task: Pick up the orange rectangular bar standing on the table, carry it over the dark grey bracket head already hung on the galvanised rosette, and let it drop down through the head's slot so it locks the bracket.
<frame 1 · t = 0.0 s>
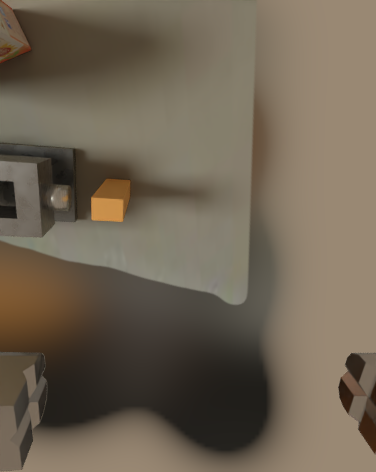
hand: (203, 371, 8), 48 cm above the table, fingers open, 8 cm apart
orange rectangular bar: (118, 188, 54), on the table
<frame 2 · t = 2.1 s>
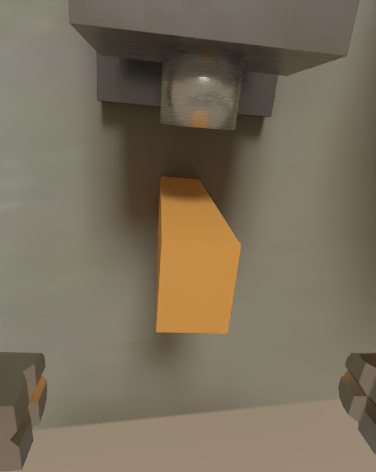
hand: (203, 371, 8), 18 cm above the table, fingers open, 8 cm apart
orange rectangular bar: (177, 202, 26), on the table
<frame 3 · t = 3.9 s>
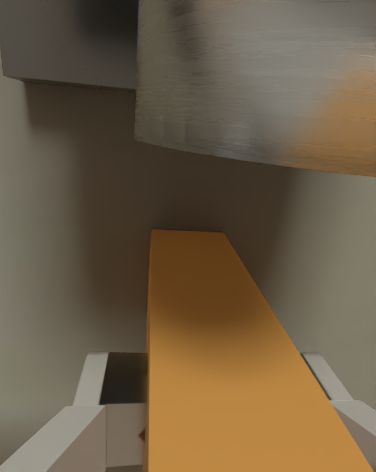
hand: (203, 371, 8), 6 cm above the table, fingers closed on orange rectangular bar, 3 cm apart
orange rectangular bar: (183, 274, 14), on the table, touching gripper
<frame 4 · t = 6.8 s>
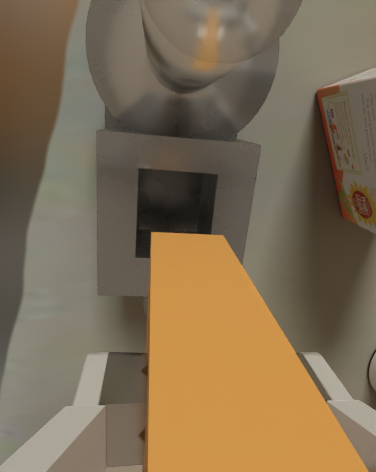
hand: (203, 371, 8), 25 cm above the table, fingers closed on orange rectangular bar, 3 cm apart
cracker box: (354, 147, 33), on the table
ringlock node: (170, 141, 31), on the table
orange rectangular bar: (183, 277, 14), point 20 cm above the table, touching gripper
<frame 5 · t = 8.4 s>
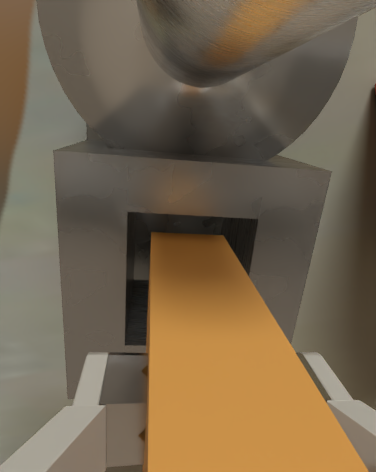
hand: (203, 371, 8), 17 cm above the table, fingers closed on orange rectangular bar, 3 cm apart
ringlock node: (177, 154, 23), on the table
orange rectangular bar: (183, 277, 14), point 11 cm above the table, touching gripper
when the fingers open (14 cm above the table, at t = 9.7 s): orange rectangular bar drops 6 cm, resting on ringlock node.
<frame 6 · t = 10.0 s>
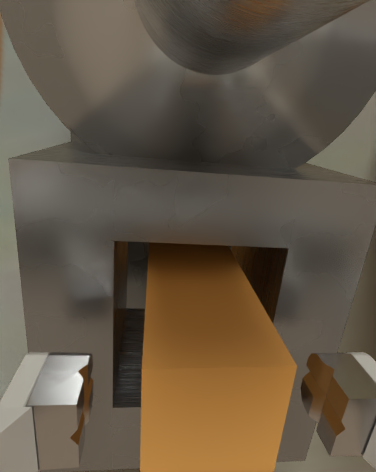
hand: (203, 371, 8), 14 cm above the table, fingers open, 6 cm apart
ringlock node: (176, 158, 20), on the table
orange rectangular bar: (175, 229, 20), point 2 cm above the table, touching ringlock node
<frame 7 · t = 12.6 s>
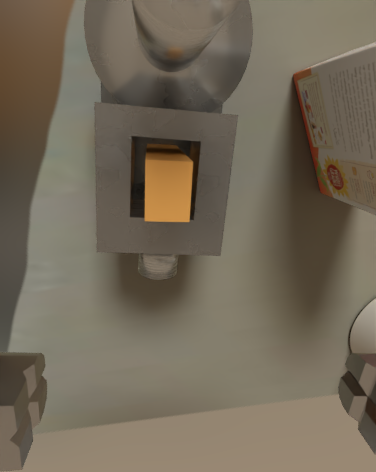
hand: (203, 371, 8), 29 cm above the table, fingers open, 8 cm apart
cracker box: (329, 127, 36), on the table
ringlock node: (161, 122, 34), on the table
orange rectangular bar: (161, 164, 34), point 1 cm above the table, touching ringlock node
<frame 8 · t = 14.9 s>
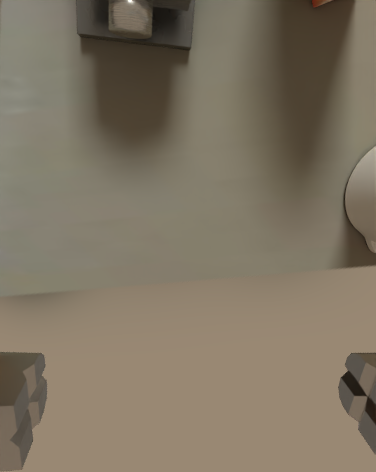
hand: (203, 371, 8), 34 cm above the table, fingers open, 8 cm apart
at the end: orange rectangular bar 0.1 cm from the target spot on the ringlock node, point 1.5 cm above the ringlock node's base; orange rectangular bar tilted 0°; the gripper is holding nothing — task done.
